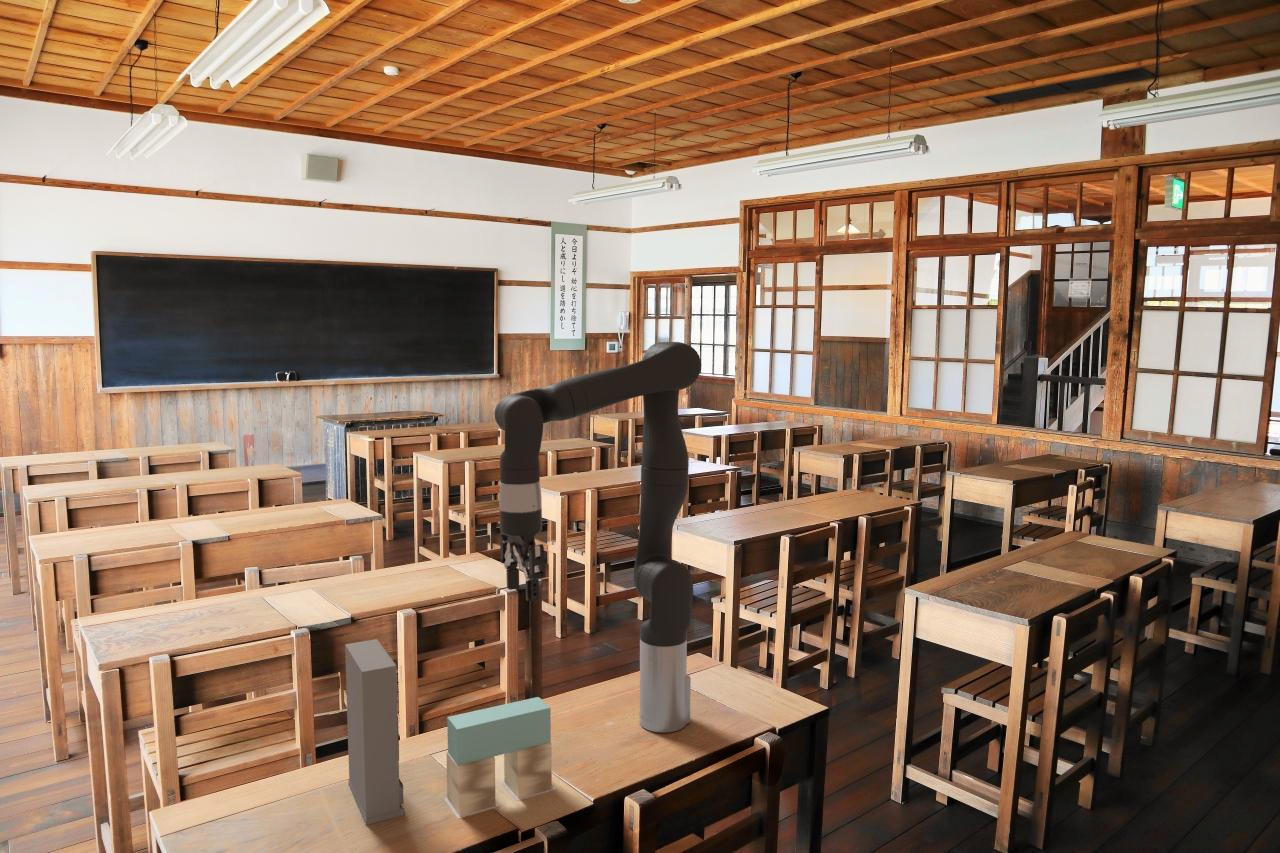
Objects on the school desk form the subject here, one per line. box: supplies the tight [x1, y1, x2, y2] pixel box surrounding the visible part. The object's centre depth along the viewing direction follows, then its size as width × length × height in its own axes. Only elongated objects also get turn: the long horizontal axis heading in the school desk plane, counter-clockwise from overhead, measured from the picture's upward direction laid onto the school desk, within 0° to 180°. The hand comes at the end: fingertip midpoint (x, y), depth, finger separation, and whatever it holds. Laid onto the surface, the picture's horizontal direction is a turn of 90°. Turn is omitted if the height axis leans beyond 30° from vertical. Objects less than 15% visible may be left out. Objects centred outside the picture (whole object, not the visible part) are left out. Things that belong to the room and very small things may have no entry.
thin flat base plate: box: [443, 780, 557, 820], centre depth 139 cm, size 20×10×1 cm, turn 121°
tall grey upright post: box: [344, 638, 405, 826], centre depth 136 cm, size 14×6×25 cm, turn 30°
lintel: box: [446, 696, 552, 766], centre depth 138 cm, size 16×5×6 cm, turn 120°
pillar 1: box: [446, 751, 497, 816], centre depth 136 cm, size 6×6×8 cm
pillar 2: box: [503, 741, 553, 799], centre depth 141 cm, size 6×6×8 cm
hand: (522, 594), depth 152 cm, fingers open, 8 cm apart
